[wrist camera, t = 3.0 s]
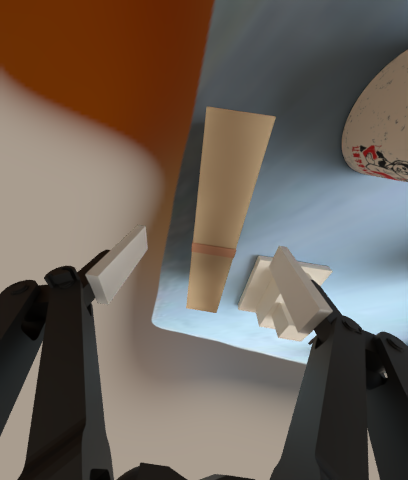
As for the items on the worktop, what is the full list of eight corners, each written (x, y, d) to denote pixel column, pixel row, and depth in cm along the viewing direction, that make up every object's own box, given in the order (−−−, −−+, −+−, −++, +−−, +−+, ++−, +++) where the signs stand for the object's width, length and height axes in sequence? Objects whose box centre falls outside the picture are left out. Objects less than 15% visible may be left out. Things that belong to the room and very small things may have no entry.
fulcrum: (258, 255, 21) (274, 297, 15) (328, 266, 21) (371, 313, 15) (237, 304, 27) (242, 347, 21) (290, 313, 27) (310, 358, 21)
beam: (193, 274, 24) (185, 308, 19) (211, 122, 13) (205, 105, 8) (217, 278, 24) (216, 313, 19) (255, 128, 13) (277, 116, 8)
